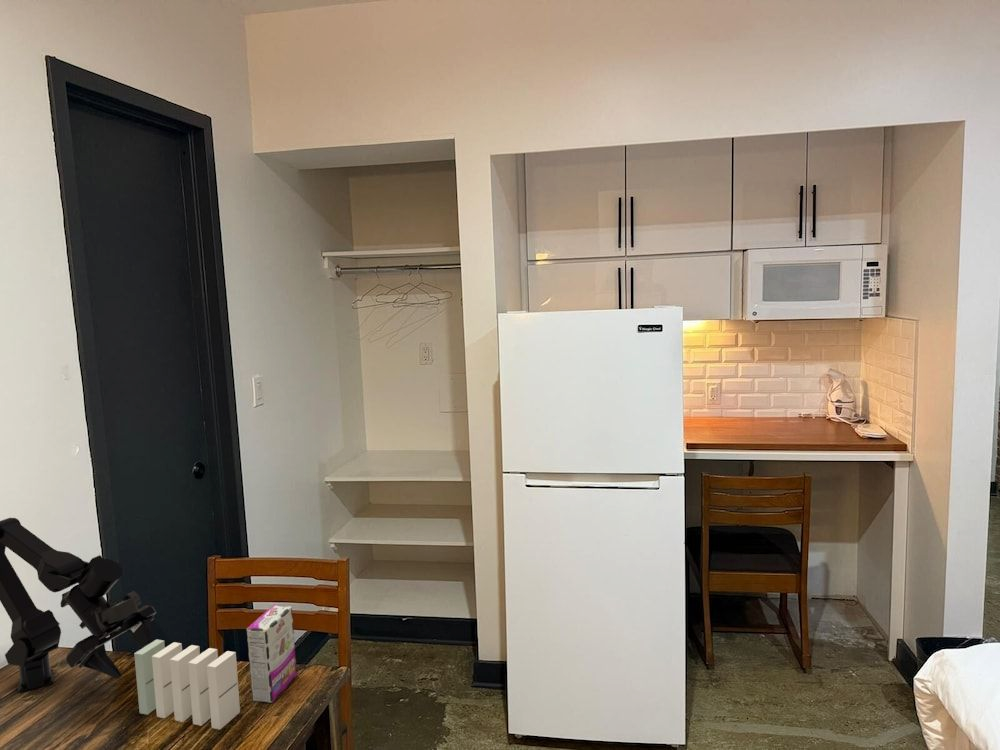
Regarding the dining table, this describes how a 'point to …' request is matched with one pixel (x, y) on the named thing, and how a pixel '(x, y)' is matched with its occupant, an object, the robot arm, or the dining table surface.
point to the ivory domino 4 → (223, 689)
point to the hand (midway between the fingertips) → (137, 665)
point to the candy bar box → (271, 653)
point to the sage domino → (146, 675)
